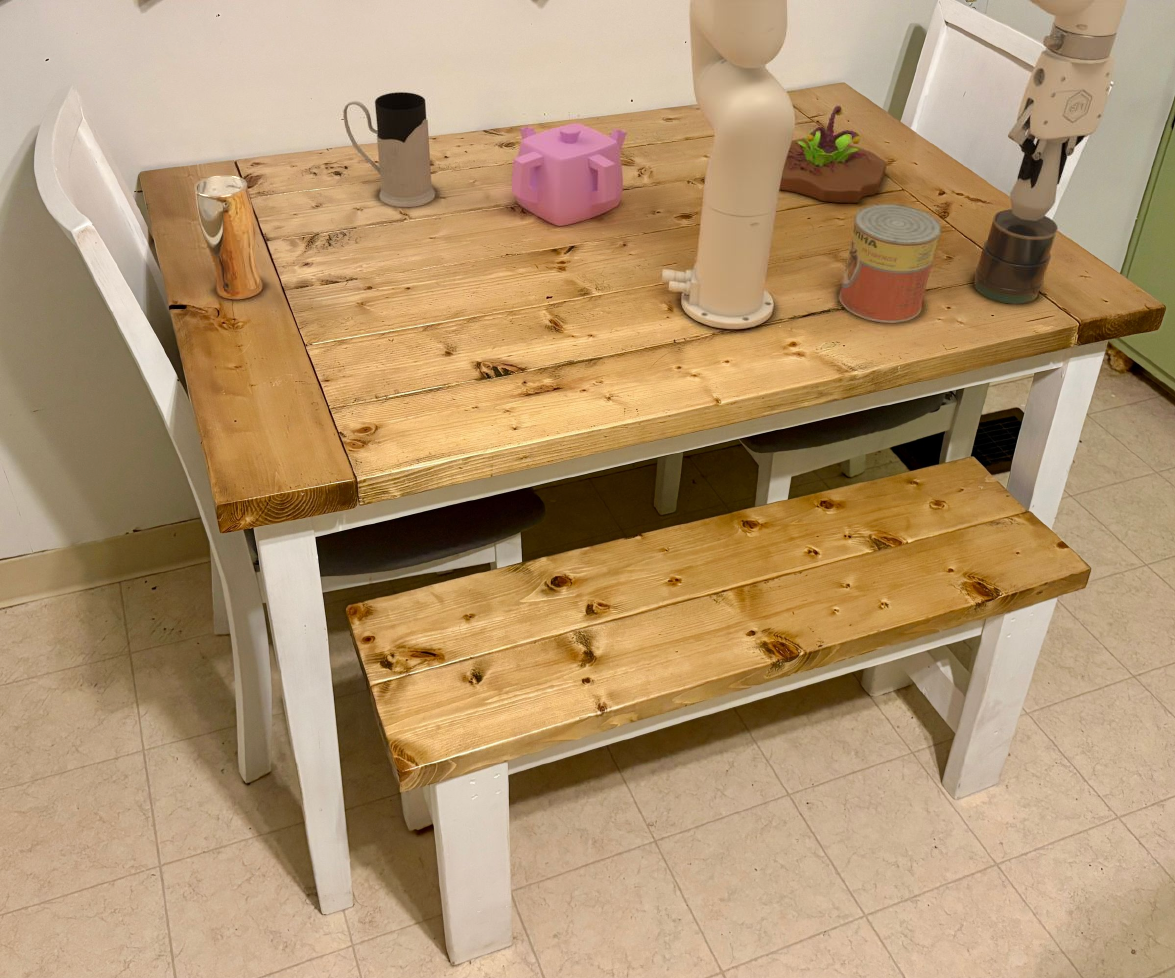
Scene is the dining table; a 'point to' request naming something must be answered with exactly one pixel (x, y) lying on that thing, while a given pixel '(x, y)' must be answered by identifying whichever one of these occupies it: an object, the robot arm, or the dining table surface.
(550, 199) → the teakettle
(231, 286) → the beer glass
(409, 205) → the glass holder
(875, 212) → the canned food
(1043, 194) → the salt shaker
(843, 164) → the plant
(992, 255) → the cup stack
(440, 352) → the dining table surface
